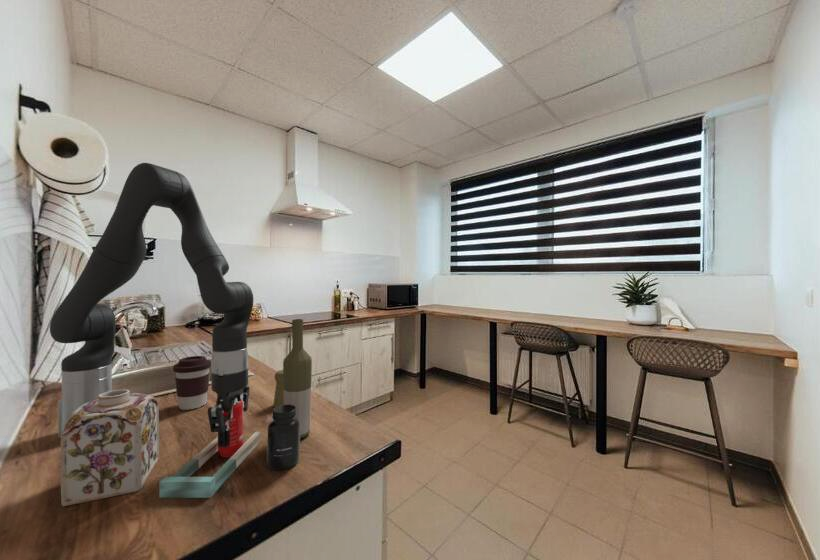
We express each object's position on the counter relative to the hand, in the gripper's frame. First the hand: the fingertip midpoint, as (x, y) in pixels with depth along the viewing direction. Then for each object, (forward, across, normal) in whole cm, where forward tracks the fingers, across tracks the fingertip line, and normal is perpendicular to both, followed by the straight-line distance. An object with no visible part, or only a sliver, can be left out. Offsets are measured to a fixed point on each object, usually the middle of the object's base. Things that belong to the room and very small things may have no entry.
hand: (230, 439), depth 75 cm
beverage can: (+3, 0, 0) cm, 3 cm away
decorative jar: (+3, +10, -17) cm, 20 cm away
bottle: (+3, -8, +13) cm, 16 cm away
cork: (+3, -27, +2) cm, 27 cm away
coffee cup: (+3, -26, -26) cm, 37 cm away
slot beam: (+3, +4, 0) cm, 5 cm away
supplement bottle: (+3, +4, +14) cm, 15 cm away
